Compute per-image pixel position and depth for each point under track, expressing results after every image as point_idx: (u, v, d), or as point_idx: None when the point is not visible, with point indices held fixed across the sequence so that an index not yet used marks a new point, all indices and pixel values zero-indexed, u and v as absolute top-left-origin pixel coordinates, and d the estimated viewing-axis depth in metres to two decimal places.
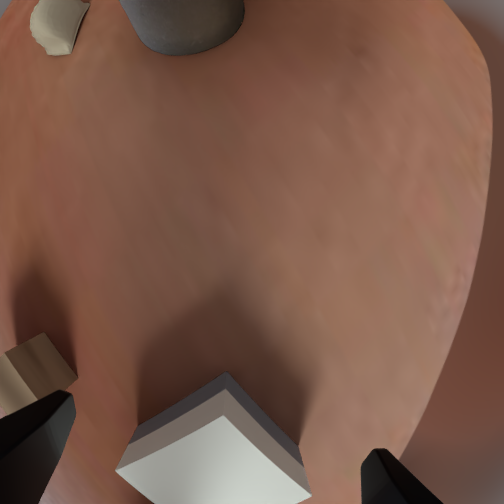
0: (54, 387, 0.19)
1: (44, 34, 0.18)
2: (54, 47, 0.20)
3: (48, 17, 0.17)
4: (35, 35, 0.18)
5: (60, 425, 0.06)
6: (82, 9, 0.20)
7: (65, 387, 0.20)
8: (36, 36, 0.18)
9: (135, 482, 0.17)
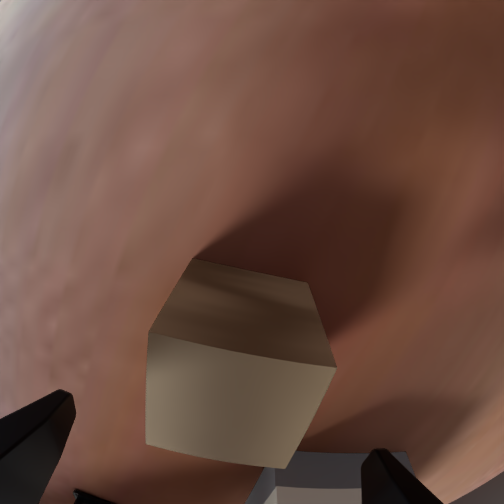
0: None
1: None
2: None
3: None
4: None
5: (60, 425, 0.06)
6: None
7: None
8: None
9: None
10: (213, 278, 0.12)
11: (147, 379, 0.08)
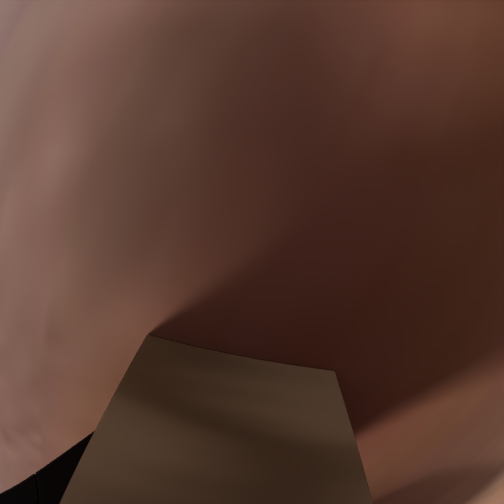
0: None
1: None
2: None
3: None
4: None
5: None
6: None
7: None
8: None
9: None
10: (175, 387, 0.06)
11: None
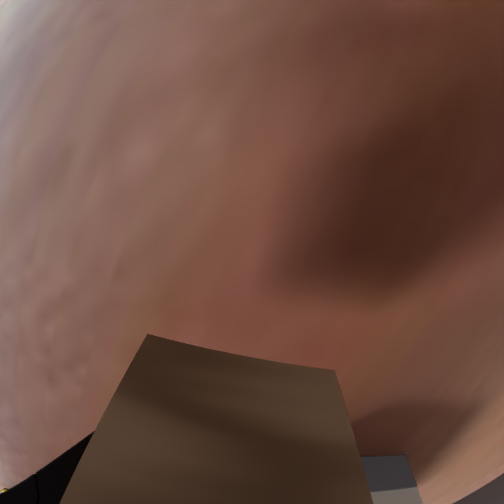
0: None
1: None
2: None
3: None
4: None
5: None
6: None
7: None
8: None
9: None
10: (176, 386, 0.06)
11: None
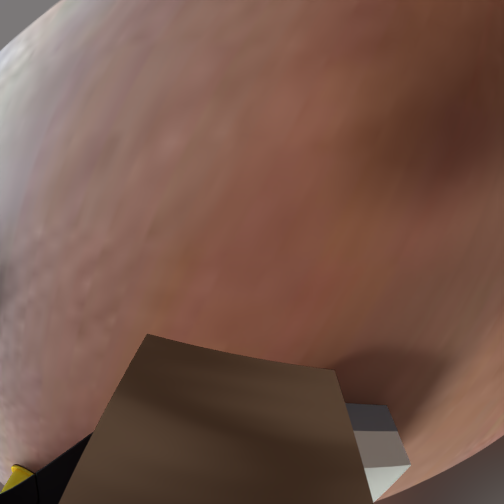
0: None
1: None
2: None
3: None
4: None
5: None
6: None
7: None
8: None
9: None
10: (176, 386, 0.06)
11: None
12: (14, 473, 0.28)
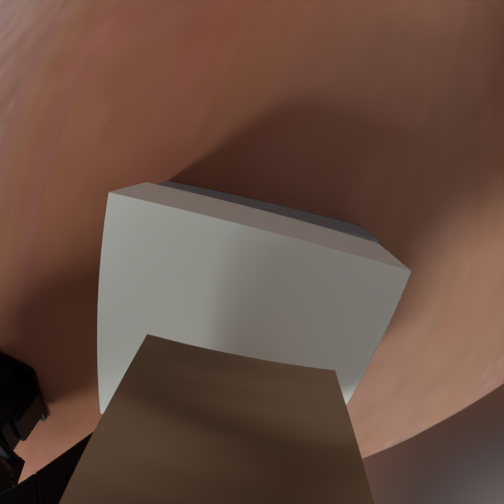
0: None
1: None
2: None
3: None
4: None
5: None
6: None
7: None
8: None
9: (117, 244, 0.10)
10: (175, 387, 0.06)
11: None
12: None
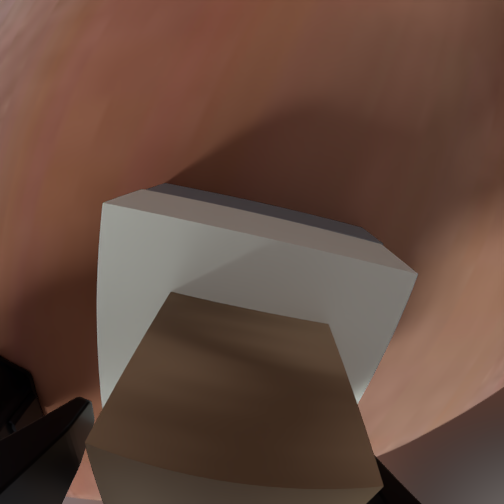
0: None
1: None
2: None
3: None
4: None
5: (80, 433, 0.06)
6: None
7: None
8: None
9: (114, 256, 0.09)
10: (197, 327, 0.08)
11: (99, 488, 0.04)
12: None
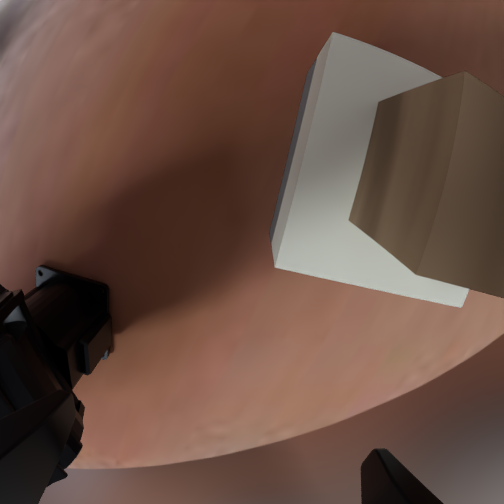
0: None
1: None
2: None
3: None
4: None
5: (60, 425, 0.06)
6: None
7: None
8: None
9: (339, 68, 0.10)
10: None
11: (457, 135, 0.06)
12: None
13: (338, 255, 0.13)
